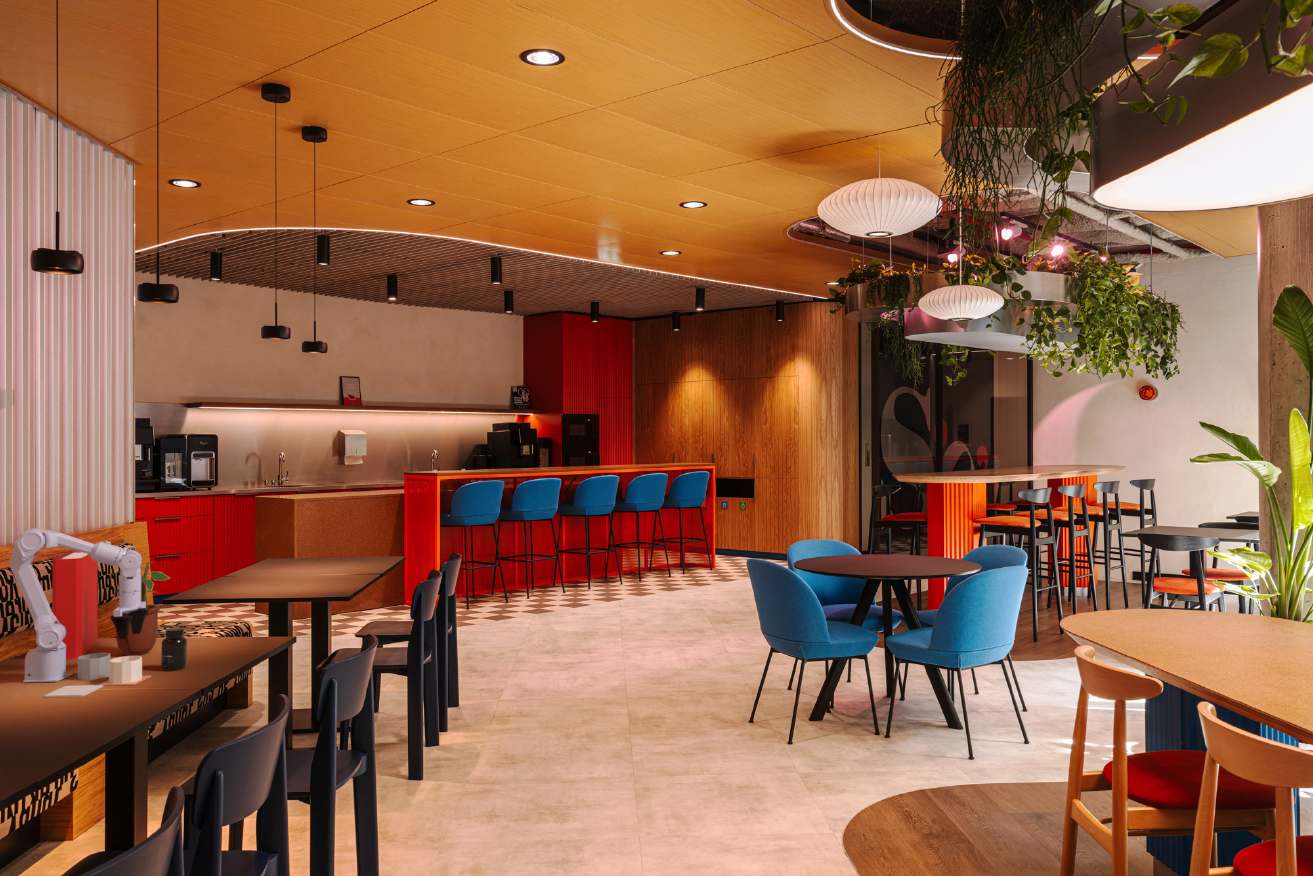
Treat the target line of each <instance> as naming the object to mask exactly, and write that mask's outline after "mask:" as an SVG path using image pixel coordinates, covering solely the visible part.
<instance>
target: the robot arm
mask: <svg viewBox="0 0 1313 876" xmlns="http://www.w3.org/2000/svg"><path fill="white" fill-rule="evenodd" d="M13 543H14V545H13V550H12V552H11V556H10V560H9V563H8V564H9V567H10V570H11V572H12V574H13V576H14V579H15V582H16V584H17V586H18V587H19V590H20V593H21V595H22V597H23V600H24V601H25V604H26V607H27V609H28V611H29V614H30V616H31V618H32V620H33V626H34V628H33V629H34V630H35V634H36V636H35V643H36V645H37V646H36V648H32V649H29V650H28V651H27V653H26V655H25V658H24V680H22V682H23V683H52V682H53V683H57V682H59V681H61V680H63V679H66V678H69V677H70V676H73V672H72V673H67V659H66V644H64V643H63V641H62V640H63V639H64V637H65V635H66V629H65V627H64V626H63V625H62V624H60V623H59V622H58V620H57V618H56V616H55V615H54V614H53V613H52V609H51V608H52V607H51V606H50V604H49V601H48V599H47V597H46V594H45V592H44V590H43V587H42V586H41V583H40V581H39V578H38V576H37V573H36V572H35V570H34V567H33V564H32V563H33V562H34V560H35V558H36V557H37V555H38V553H39V552H41V550H43V548H45V547H46V549H50V548H55V547H56V548H57V547H61V548H65V549H69V550H71V551H72V550H73V551H76V552H78V553H80V552H83V553H87V554H89V555H90V556H91V558H92V560H95V561H97V563H102V564H105V565H108V566H112V567H119V571H120V572H119V577H118V578H119V580H118V582H119V583H118V584H119V585H118V590H119V592H118V606H117V607H116V608H117V609H116V608H114V609H115V610H114V609H113V615H111V616H110V620H111V622H112V623H113V625H114V627H115V631H116V630H117V634H118V637H119V639H127V638H128V633H129V626H130V622H131V628H132V633H133V634H140V633H141V630H142V626H143V623H144V620H145V618H146V616H147V614H148V612H149V609H144V608H146V602H141V575H142V574H141V573H142V568H141V565H142V561H143V559H142V555H141V554H140V553H139V552H138V551H137V550H135V551H134V550H131V549H128V547H125V546H124V547H120V546H117V545H113V544H112V543H111V542H110V541H108V540H106V541H105V542H104V541H99V542H96V543H92V542H90V541H86V540H83V539H80V538H77V537H74V536H71V535H68V534H66V533H62V532H59V531H55V530H50V529H44V528H42V527H33V528H30V529H28V530H26V531H24V532H22V533H21V534H20V535H19V536H18V538H17V539H16V540H15V541H14V542H13ZM127 549H128V550H127ZM140 568H141V569H140ZM127 613H128V615H129V616H127V615H126V614H127Z"/></svg>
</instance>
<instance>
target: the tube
mask: <svg viewBox="0 0 1313 876" xmlns="http://www.w3.org/2000/svg"><path fill="white" fill-rule="evenodd" d="M123 661H126V662H123ZM151 677H152V675H143V657H142V656H141V655H132V656H131V655H125V656H119V657H113V658H110V660H109V676H108V680H106V681H103V682H102V683H99V685H103V687H106V686H107V687H108V686H109V687H110V686H111V687H112V686H134V685H137V684H139V683H141V682H143V681H144V680H147V679H149V678H151Z"/></svg>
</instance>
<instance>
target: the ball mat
mask: <svg viewBox="0 0 1313 876" xmlns="http://www.w3.org/2000/svg"><path fill="white" fill-rule="evenodd" d="M103 687H104V686H103V685H100V684H91V685H89V684H88V685H64V686H62V687H60V688H58V689H56V690H53V691H51V692H49V693H47V694H44V695H43V698H49V699H50V698H83V697H85V696H86V695H88V694H91V693H93V692H95V691H97V690H99V689H101V688H103Z"/></svg>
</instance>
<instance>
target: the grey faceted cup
mask: <svg viewBox="0 0 1313 876" xmlns="http://www.w3.org/2000/svg"><path fill="white" fill-rule="evenodd" d="M109 660H111V653H108V652H95V653H88V654H84V655H82V656H80V657H78V658H77V680H79V681H92V680H93V681H94V680H100V679H104V678H109Z"/></svg>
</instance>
